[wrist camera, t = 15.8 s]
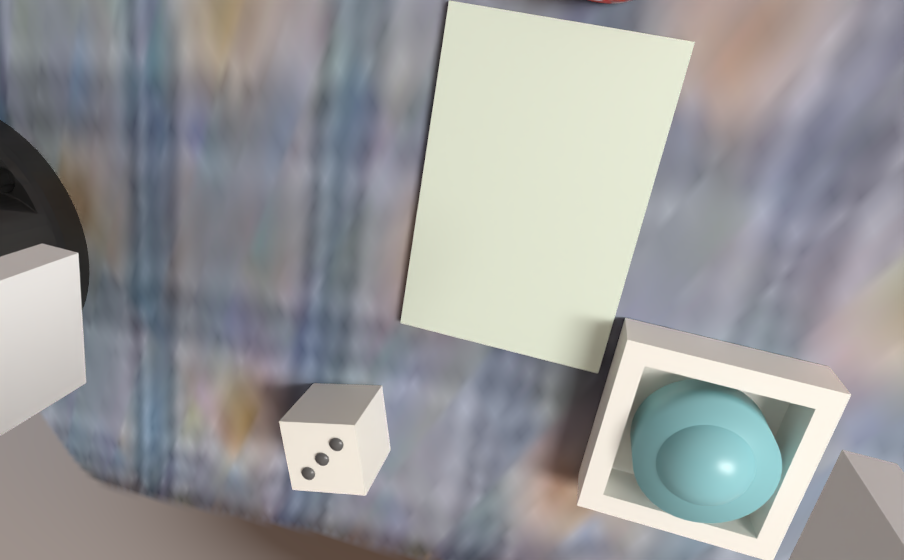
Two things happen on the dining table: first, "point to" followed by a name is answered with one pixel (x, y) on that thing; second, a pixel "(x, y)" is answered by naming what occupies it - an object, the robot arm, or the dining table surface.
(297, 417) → the die
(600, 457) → the housing
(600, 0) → the toy fire truck
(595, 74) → the pad
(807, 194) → the dining table surface
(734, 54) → the dining table surface
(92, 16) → the dining table surface
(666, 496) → the light blue round piece
